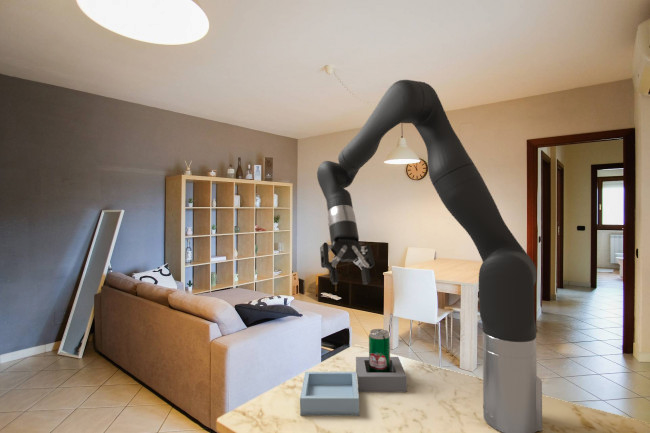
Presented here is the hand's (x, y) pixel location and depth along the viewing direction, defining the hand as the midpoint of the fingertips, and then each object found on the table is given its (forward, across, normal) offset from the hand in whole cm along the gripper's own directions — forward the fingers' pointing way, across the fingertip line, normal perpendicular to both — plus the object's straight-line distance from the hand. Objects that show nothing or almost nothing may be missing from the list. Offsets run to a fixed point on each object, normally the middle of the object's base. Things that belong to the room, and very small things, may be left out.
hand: (351, 283), depth 88 cm
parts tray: (+25, -7, +4) cm, 26 cm away
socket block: (+22, +7, +6) cm, 24 cm away
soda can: (+23, +7, +6) cm, 25 cm away
